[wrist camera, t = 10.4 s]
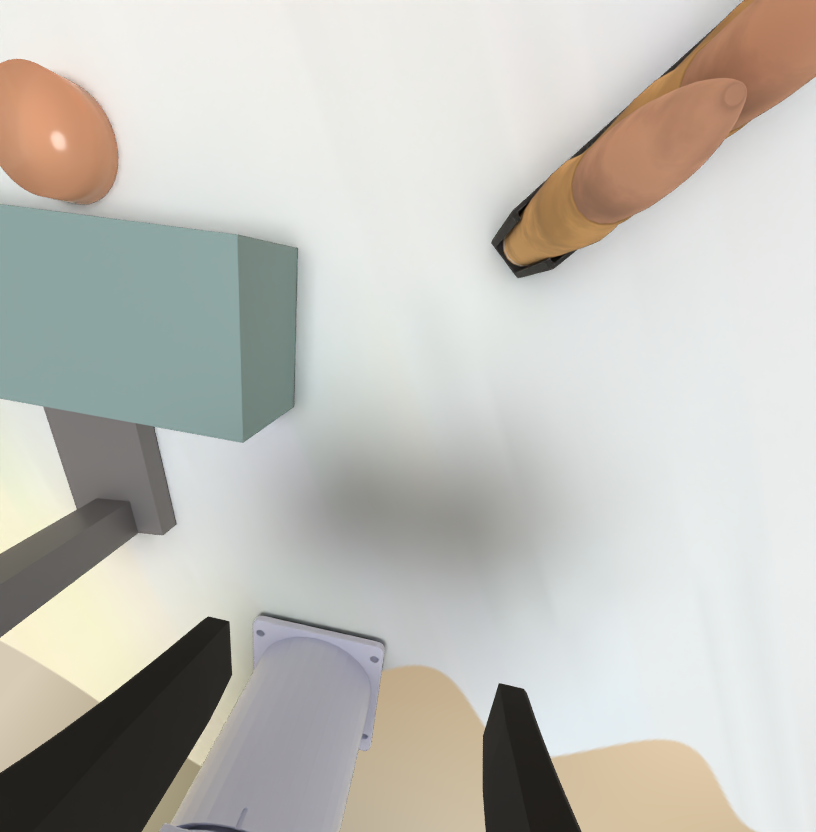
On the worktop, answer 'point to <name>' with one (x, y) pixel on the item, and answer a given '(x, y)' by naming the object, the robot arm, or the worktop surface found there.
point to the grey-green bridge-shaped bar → (146, 322)
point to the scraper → (88, 509)
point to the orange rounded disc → (54, 135)
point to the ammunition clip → (665, 132)
